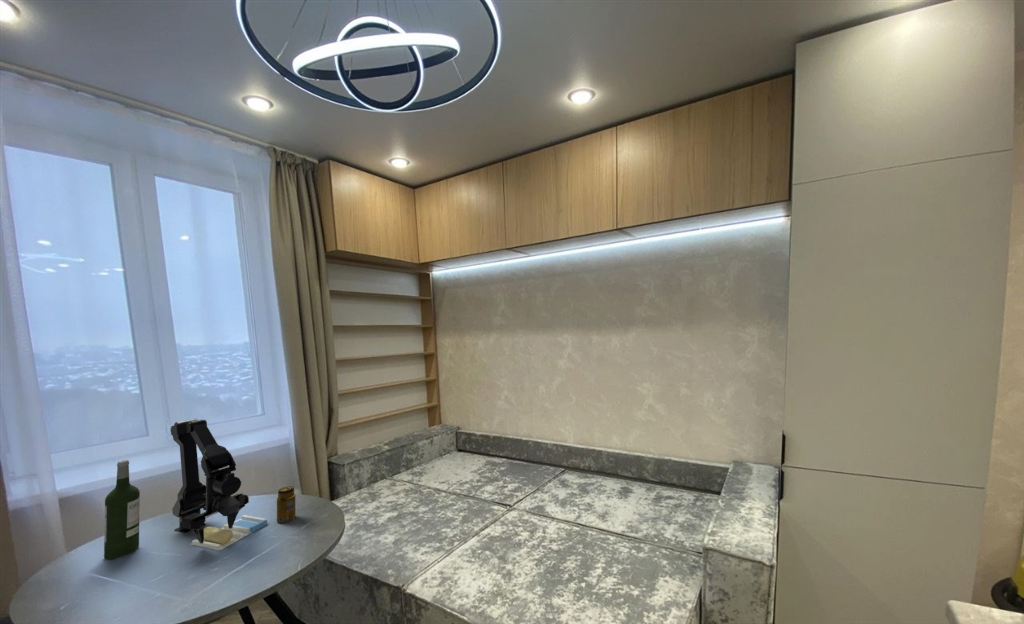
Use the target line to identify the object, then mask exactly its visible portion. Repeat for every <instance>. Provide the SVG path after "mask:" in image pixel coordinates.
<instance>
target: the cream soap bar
mask: <svg viewBox="0 0 1024 624" xmlns="http://www.w3.org/2000/svg"><path fill="white" fill-rule="evenodd" d="M232 536H233V532H232V531H231V530H225V529H221V528H220V527H215V526H205V527H204V540H206V541H211V542H216V543H220V544H226V543H228V542H229V541H230V540H231V538H232Z"/></svg>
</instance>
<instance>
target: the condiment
mask: <svg viewBox="0 0 1024 624" xmlns="http://www.w3.org/2000/svg"><path fill="white" fill-rule="evenodd" d="M296 511H297V510H296V493H295V487H294V486H292V485H287V486H283V487H281V488H279V489H278V492H277V498H276V522H277V524H279V525H283V524H287V523H291V522H292V521H294V520H295V518H296V514H297V513H296Z"/></svg>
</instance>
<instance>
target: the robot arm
mask: <svg viewBox="0 0 1024 624" xmlns="http://www.w3.org/2000/svg"><path fill="white" fill-rule="evenodd" d="M207 422H208V421H207V420H206V419H198V418H191V419H187V420H181V421H180V420H179V421H176V422H174V424H173V425H172V426H170V434H171V436H172V440H173V442H175V443H176V444H177V445H178V446H179V453H180V454H179V455H180V467H181V479H182V486H181V488H180V489H179V492H178V493H177V496H176V497H177V500H176V502H175V503H174V505H173V507H172V508H171V510H172V515H173V516H175V517H177V518H179V519H178V522H179V526H178V527H177V528H175V529H174V530H173V531H174V532H180V533H184V534H187V533H188V532H192V533H193V535H194V536H195V538H196V540H198V541H199V542H200V543H201V544H202V543H203V542H204V528H206V526H207V523H206V519H208V518H209V517H212V516H213V515H216V514H218V513H219V514H221V516H223V517H226V520H227V524H228V527H229V529H231V528H232V527H233V524H234V522H235V521H236V519H237V517H238V514H239V512H240V511H241V510H242V509H243V508H245V506H246V505H247V504H248V503H250V501H249V499H250V497H249V496H248V495H247V494H244V493H237V492H238V491H239V490H240V488H241V486H242V481H241V479H240V478H239V477H238V476H235V472H234V471H237V468H236V466H237V464H236V461H235V459H234V457H233V455H232V454H231V452H230V451H229V450H228V449H227V448H226V447H225V446H222V445H219V444H218V442H217V441H216V438H215V437H214V436H213V434H212V432H211V430H210V429H209V427H208V423H207ZM197 448H198V449H199V451H200V452H201V453H200V454H201V456H202V457H201V459H200V467H201V469H202V471H203V473H204V476H206V477H205V484H203V483H202V481H200V471H199V461H198V460H199V458H198V450H197ZM234 494H235V495H234ZM202 509H203V511H204V512H202V513H201V510H202Z"/></svg>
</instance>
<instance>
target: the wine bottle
mask: <svg viewBox="0 0 1024 624" xmlns="http://www.w3.org/2000/svg"><path fill="white" fill-rule="evenodd" d="M129 465H130V461H129V459H123V460H120V461H117V463H116V467H117V471H116V481H115V483H116V485H115V487H114V488H113V489H112V490H111V491H110V492H109V493H108V494H107V495H106V497H105V499H104V530H103V532H104V537H103V538H104V541H103V542H104V543H103V547H104V549H103V557H104V560H107V561H112V560H116V559H118V558H123V557H125V556H127V555H130V554H131V553H133V552H135V551H137V550H138V549H139V547H140V507H141V506H140V505H141V504H140V502H141V501H140V500H141V499H140V497H141V495H140V493H141V492H140V489H139V488H138V487H137V486H135V485H133V484H131V483H130V466H129Z"/></svg>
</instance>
